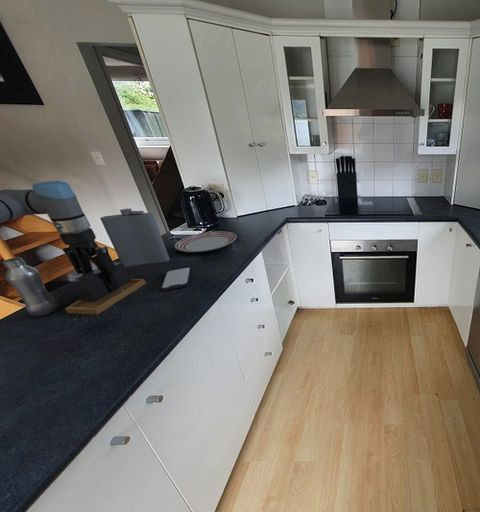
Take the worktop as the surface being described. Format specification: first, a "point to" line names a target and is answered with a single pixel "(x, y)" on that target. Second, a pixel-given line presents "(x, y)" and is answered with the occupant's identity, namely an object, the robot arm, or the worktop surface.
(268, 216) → the worktop surface
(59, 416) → the worktop surface
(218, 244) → the dinner plate
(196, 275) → the worktop surface
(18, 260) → the plastic bottle
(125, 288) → the tray
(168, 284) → the phone case
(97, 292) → the gadget
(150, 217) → the flask
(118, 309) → the worktop surface
